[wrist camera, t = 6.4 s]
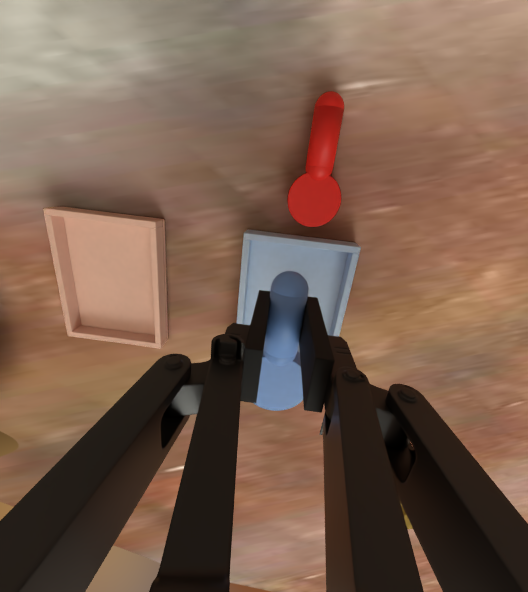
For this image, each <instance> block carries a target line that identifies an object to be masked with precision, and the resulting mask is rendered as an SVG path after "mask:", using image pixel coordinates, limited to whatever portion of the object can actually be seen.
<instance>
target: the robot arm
mask: <svg viewBox="0 0 528 592" xmlns="http://www.w3.org/2000/svg"><path fill="white" fill-rule="evenodd" d="M269 305H270V291H263V290H259V293H258V296H257V300H256V304H255V308H254V312H253V316H252V320H251V324H250V325H244V324H237V323H233V324H231V325H230V326H228V327H227V330H226V332H225V334H222V335H218V336H216V337H214V338H213V340H212V344H211V360H209V361H206V362H202V363H191V361H190V359H189V358H188V357H187V356H185V355H182V354H169V355H166V356H163V357H162V358H160V359H159V360H158V361H157V362H156V363H155V364H154V365H153V366H152V367H151V368H150V369H149V370H148V371H147V372H146V373H145V374H144V375H143V376H142V377H141V378H140V379H139V380H138V381H137V382H136V383H135V384H134V385H133V386H132V387H131V388H130V389H129V390H128V391H127V392H126V393H125V394H124V395H123V396H122V397H121V398H120V399H119V400H118V401H117V402H116V403H115V404H114V406H113V407H112V408H111V409H110V410H109V411H108V412H107V413H106V414H105V415H104V416H103V417H102V418H101V419H100V420H99V421H98V422H97V423H96V424H95V425H94V426H93V427H92V428H91V429H90V430H89V431H88V432H87V433H86V434H85V435H84V436H83V437H82V438H81V439H80V440H79V441H78V442H77V443H76V444H75V445H74V446H73V447H72V448H71V449H70V450H69V451H68V452H67V453H66V454H65V455H64V456H63V458H62V459H61V460H60V461H59V462H58V463H57V464H56V465H55V466H54V467H53V468H52V469H51V470H50V471H49V472H48V473H47V474H46V475H45V476H44V477H43V478H42V479H41V480H40V481H39V482H38V483H37V484H36V485H35V486H34V487H33V488H32V489H31V490H30V491H29V492H28V493H27V494H26V495H25V496H24V497H23V498H22V499H21V500H20V501H19V502H18V503H17V504H16V505H15V506H14V508H13V509H12V510H11V511H10V512H9V513H8V514H7V515H6V516H5V517H4V518H3V519H2V520H1V521H0V592H85V591H86V589H87V588H88V586H89V584H90V582H91V581H92V579H93V578H94V576H95V574H96V573H97V571H98V569H99V568H100V566H101V564H102V562H103V561H104V559H105V557H106V556H107V554H108V553H109V551H110V549H111V547H112V546H113V544H114V543H115V541H116V539H117V537H118V536H119V534H120V532H121V531H122V529H123V527H124V526H125V524H126V522H127V521H128V519H129V517H130V516H131V514H132V512H133V511H134V509H135V507H136V506H137V504H138V502H139V501H140V499H141V497H142V496H143V494H144V492H145V491H146V489H147V487H148V486H149V484H150V482H151V481H152V479H153V477H154V476H155V474H156V472H157V471H158V469H159V467H160V466H161V464H162V462H163V460H164V459H165V457H166V455H167V454H168V452H169V450H170V449H171V447H172V445H173V444H174V442H175V440H176V439H177V437H178V435H179V434H180V432H181V430H182V429H183V427H184V425H185V424H186V422H187V420H188V419H189V416H190V415H192V414H197V417H196V421H195V425H194V429H193V434H192V438H191V442H190V446H189V450H188V454H187V458H186V462H185V466H184V470H183V475H182V479H181V483H180V487H179V491H178V495H177V499H176V503H175V507H174V512H173V516H172V520H171V524H170V528H169V532H168V536H167V540H166V544H165V548H164V553H163V557H162V561H161V565H160V568H159V572H158V574H157V577H156V578H155V580H154V581H153V583H152V585H151V588H150V591H149V592H229V585H230V580H229V576H230V558H231V542H232V526H233V510H234V494H235V478H236V462H237V446H238V430H239V414H240V401H244V402H251V403H256V401H257V394H258V387H259V379H260V372H261V365H262V357H263V350H264V342H265V335H266V327H267V320H268V312H269ZM299 350H300V363H301V376H302V388H303V401H304V410H307V411H314V412H321V413H322V409H323V405H325V415H324V419H323V423H322V426H321V430H320V435H322V434H323V447H324V496H325V544H326V592H424V591H423V587H422V584H421V580H420V576H419V572H418V568H417V565H416V561H415V557H414V553H413V549H412V545H411V542H410V538H409V534H408V530H407V526H406V522H405V519H404V515H403V511H402V507H401V504H402V506H403V508H404V511H405V513H406V515H407V517H408V519H409V521H410V523H411V525H412V527H413V529H414V532H415V534H416V536H417V538H418V540H419V542H420V544H421V546H422V548H423V550H424V553H425V555H426V557H427V559H428V561H429V563H430V565H431V567H432V569H433V571H434V574H435V576H436V578H437V580H438V582H439V584H440V586H441V588H442V590H443V592H528V524H527V522H526V521H525V520H524V519H523V517H522V516H521V515H520V514H519V513H518V511H517V510H516V509H515V508H514V506H513V505H512V504H511V503H510V501H509V500H508V499H507V498H506V497H505V495H504V494H503V493H502V492H501V490H500V489H499V488H498V487H497V486H496V484H495V483H494V482H493V481H492V479H491V478H490V477H489V476H488V475H487V473H486V472H485V471H484V470H483V468H482V467H481V466H480V465H479V463H478V462H477V461H476V460H475V459H474V457H473V456H472V455H471V454H470V452H469V451H468V450H467V449H466V448H465V446H464V445H463V444H462V443H461V441H460V440H459V439H458V438H457V437H456V435H455V434H454V433H453V432H452V430H451V429H450V428H449V427H448V425H447V424H446V423H445V422H444V421H443V419H442V418H441V417H440V416H439V414H438V413H437V412H436V411H435V410H434V408H433V407H432V406H431V405H430V403H429V402H428V401H427V400H426V399H425V397H424V396H423V395H422V394H421V393H420V392H419V391H417V390H415V389H414V388H412V387H410V386H407V385H403V384H393V385H392V386H390V388H389V391H387V390H384V389H381V388H378V387H376V386H373V385H371V384H369V381H368V379H367V377H366V375H365V374H363V373H362V372H361V371H359V370H357V368H356V365H355V362H354V360H353V357H352V355H351V352H350V350H349V347H348V344H347V342H346V341H345V340H344V339H343V338H342V337H338V336H331V335H328V334H327V331H326V327H325V323H324V320H323V316H322V312H321V309H320V305H319V301H318V298H316V297H309V296H308V298H307V302H306V307H305V312H304V318H303V323H302V329H301V334H300V339H299ZM410 442H411V443H412V445H413V446H412V445H411V443H410ZM413 447H414V448H413ZM400 502H401V503H400Z"/></svg>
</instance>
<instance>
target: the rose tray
mask: <svg viewBox="0 0 528 592" xmlns="http://www.w3.org/2000/svg"><path fill="white" fill-rule="evenodd" d="M43 210H44V214H45V221H46V226H47V231H48V236H49V241H50V247H51V252H52V257H53V262H54V267H55V273H56V278H57V283H58V288H59V293H60V299H61V304H62V309H63V314H64V319H65V325H66V330H67V334H68V336H73V337H80V338H88V339H95V340H102V341H110V342H117V343H124V344H132V345H139V346H146V347H154V348H162V346H163V345H164V344H165V342H166V341H167V340H168V316H167V283H166V249H165V219H160V218H152V217H144V216H135V215H127V214H119V213H111V212H103V211H95V210H87V209H79V208H71V207H62V206H57V207H48V208H43Z"/></svg>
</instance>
